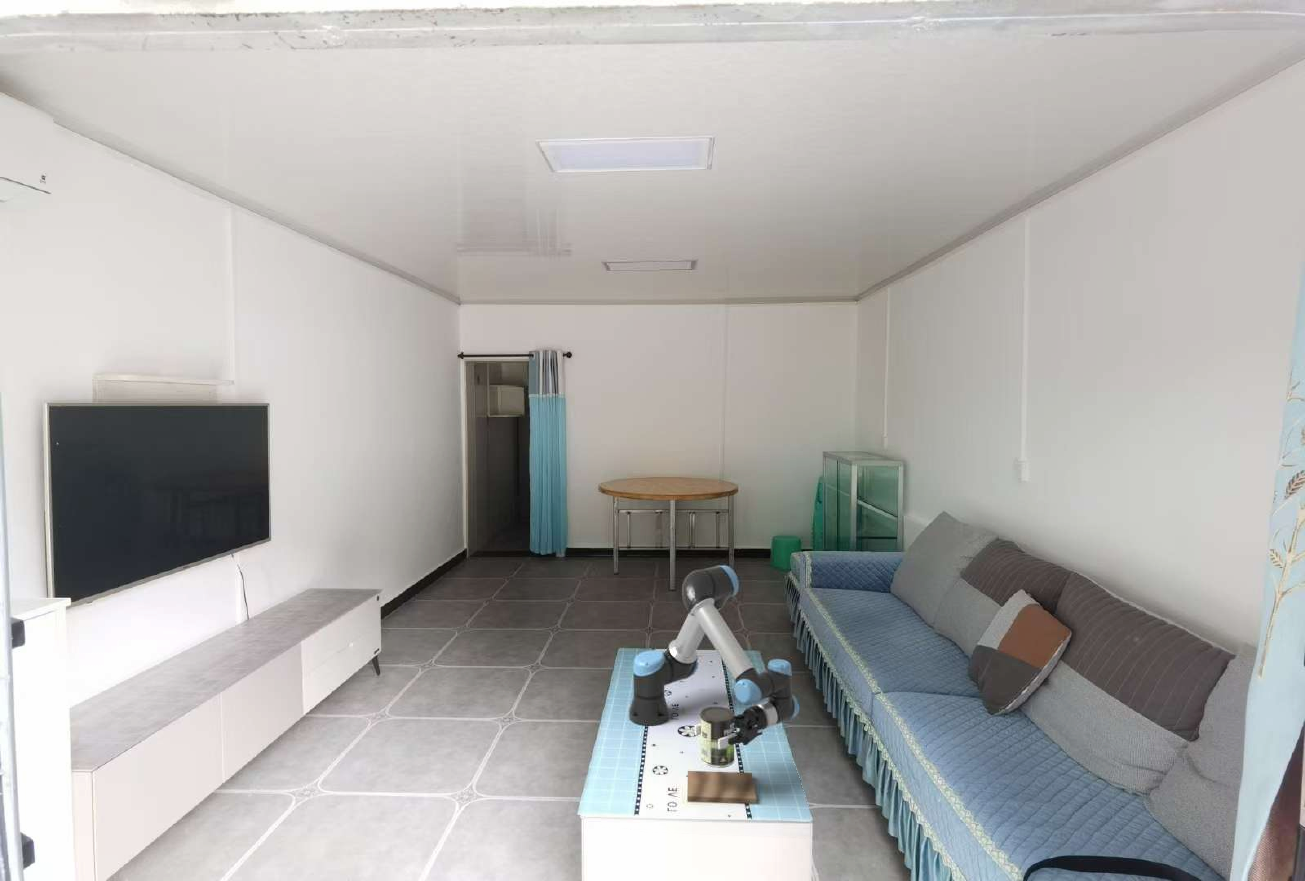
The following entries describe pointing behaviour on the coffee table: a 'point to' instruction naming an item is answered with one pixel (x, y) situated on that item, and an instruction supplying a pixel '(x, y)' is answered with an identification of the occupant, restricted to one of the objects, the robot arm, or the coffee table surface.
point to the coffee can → (716, 736)
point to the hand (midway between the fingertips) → (706, 737)
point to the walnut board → (721, 787)
